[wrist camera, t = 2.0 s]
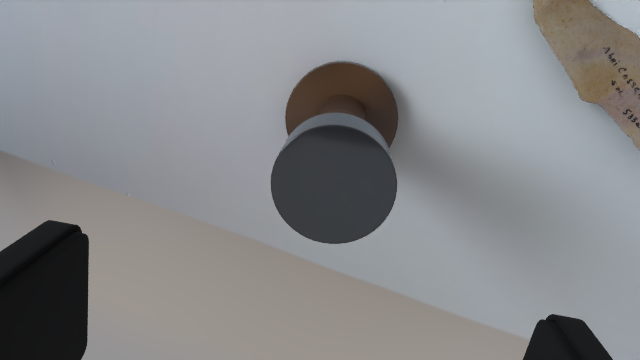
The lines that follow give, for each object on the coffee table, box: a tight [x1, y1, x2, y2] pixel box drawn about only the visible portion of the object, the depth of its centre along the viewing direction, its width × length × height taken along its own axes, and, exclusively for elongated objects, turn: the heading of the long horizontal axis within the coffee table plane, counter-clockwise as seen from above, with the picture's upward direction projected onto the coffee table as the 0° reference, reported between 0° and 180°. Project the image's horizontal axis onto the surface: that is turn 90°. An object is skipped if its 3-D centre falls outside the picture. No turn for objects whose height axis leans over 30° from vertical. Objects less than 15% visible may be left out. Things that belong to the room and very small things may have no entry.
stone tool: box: [533, 0, 640, 150], centre depth 28 cm, size 5×2×15 cm
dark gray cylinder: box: [271, 113, 397, 244], centre depth 19 cm, size 5×5×2 cm
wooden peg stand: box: [285, 61, 398, 148], centre depth 26 cm, size 7×7×11 cm
